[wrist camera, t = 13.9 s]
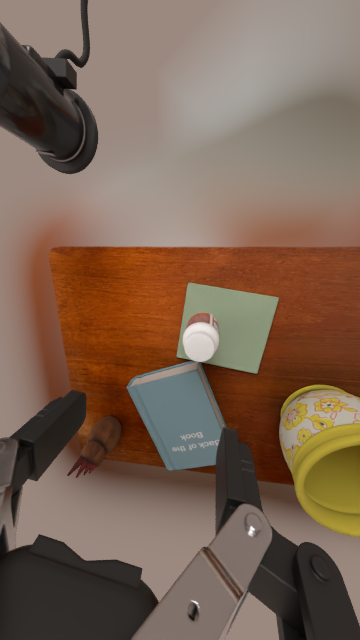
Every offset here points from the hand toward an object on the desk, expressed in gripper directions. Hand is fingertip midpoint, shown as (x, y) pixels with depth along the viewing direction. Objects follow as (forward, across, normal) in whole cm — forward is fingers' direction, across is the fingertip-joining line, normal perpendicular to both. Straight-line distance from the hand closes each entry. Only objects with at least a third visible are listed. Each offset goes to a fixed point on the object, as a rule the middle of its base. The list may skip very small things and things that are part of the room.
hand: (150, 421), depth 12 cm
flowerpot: (+32, -28, +18) cm, 46 cm away
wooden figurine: (+32, +16, +34) cm, 50 cm away
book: (+32, -1, +25) cm, 41 cm away
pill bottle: (+32, -2, +4) cm, 32 cm away
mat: (+32, -6, +4) cm, 33 cm away
